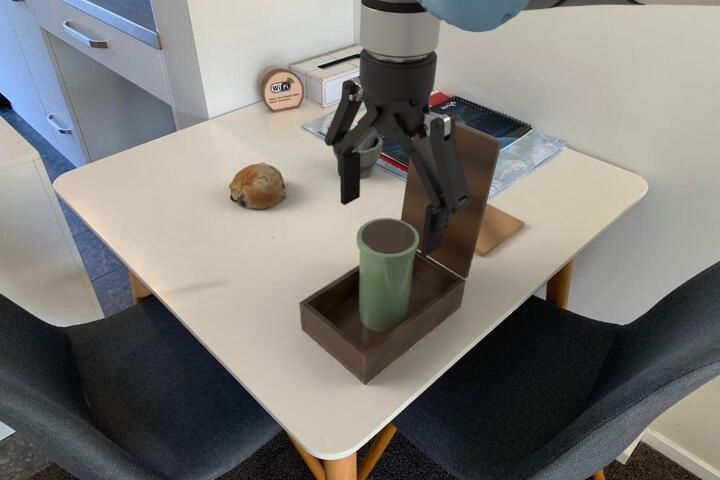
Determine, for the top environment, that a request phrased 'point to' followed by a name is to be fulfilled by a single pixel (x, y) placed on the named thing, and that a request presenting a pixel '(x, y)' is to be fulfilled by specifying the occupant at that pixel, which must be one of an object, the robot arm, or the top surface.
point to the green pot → (385, 272)
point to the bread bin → (364, 346)
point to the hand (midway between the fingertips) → (388, 223)
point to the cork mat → (495, 229)
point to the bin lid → (465, 224)
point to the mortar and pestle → (368, 153)
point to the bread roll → (257, 187)
